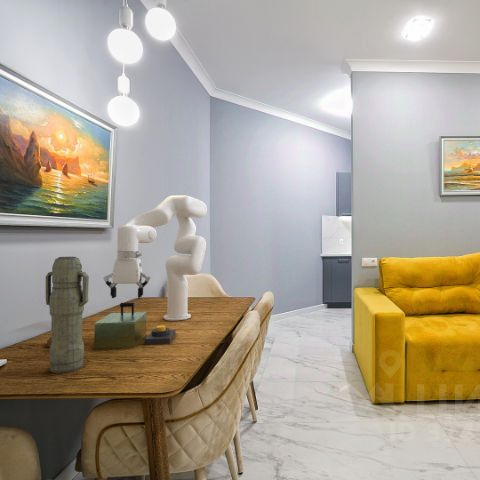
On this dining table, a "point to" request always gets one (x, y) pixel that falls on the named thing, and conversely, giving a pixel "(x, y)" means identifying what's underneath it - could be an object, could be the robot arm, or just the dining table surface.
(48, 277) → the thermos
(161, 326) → the button
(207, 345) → the dining table surface
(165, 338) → the control box
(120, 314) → the lid
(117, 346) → the green box
